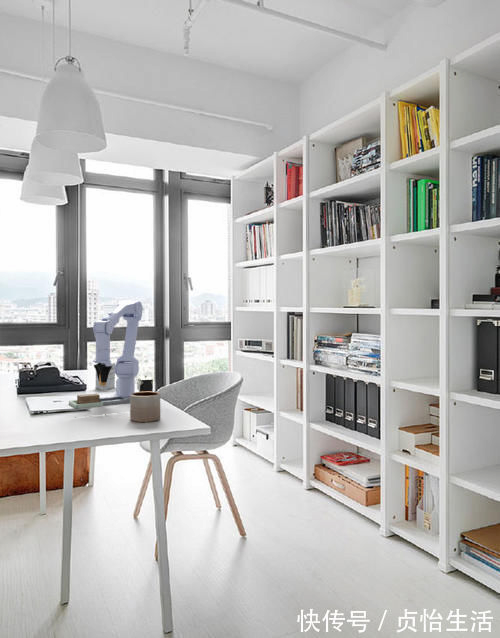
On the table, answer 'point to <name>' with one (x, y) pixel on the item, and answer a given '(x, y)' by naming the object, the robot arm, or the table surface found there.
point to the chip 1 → (83, 399)
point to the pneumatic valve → (145, 384)
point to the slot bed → (114, 400)
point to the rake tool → (102, 385)
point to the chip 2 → (94, 398)
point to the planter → (145, 406)
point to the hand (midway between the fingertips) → (102, 381)
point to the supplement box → (110, 380)
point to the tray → (74, 404)
